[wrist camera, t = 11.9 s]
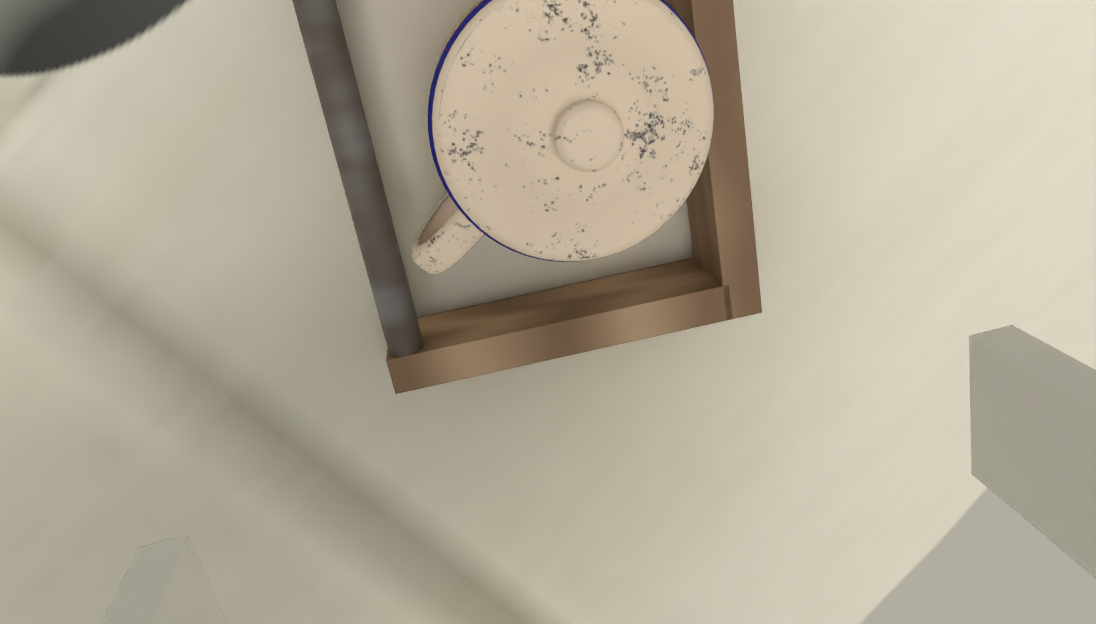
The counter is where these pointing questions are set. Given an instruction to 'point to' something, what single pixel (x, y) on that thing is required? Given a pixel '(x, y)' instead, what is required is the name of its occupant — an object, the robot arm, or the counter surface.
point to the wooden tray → (569, 311)
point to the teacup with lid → (564, 128)
